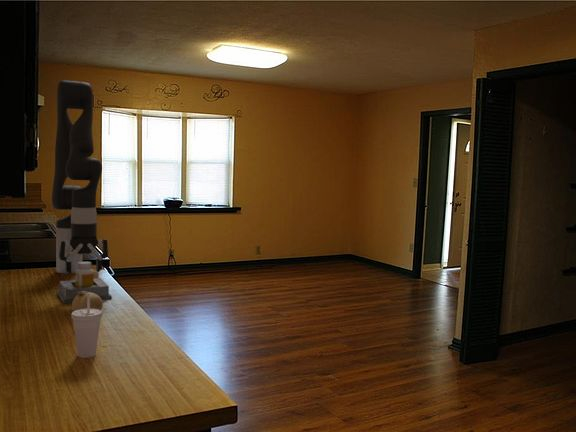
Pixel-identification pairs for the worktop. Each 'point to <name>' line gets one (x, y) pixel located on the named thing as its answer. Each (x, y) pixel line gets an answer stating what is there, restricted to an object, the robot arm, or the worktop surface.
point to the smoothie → (86, 329)
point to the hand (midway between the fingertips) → (83, 272)
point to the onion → (81, 301)
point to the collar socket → (70, 291)
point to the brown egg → (96, 274)
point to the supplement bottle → (84, 275)
